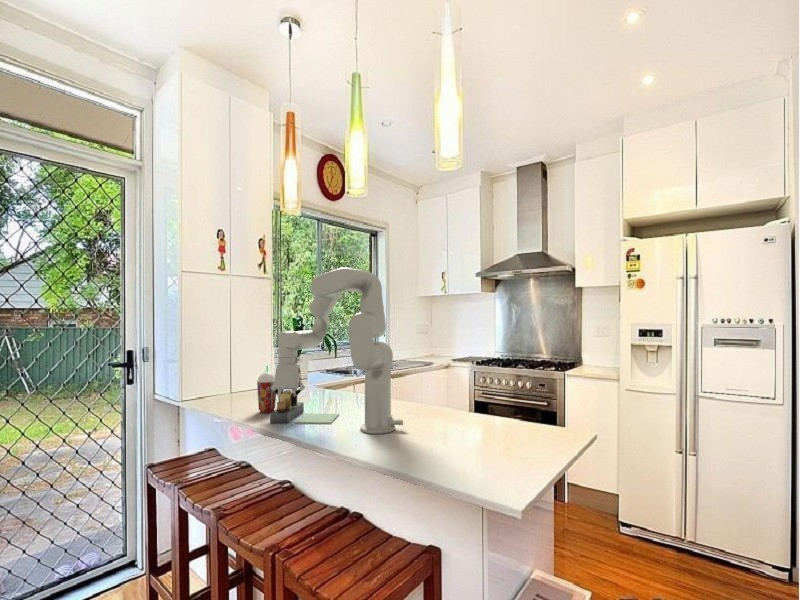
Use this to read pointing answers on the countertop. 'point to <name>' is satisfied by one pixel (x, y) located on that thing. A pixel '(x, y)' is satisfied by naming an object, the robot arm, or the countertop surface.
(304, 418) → the rubber mat
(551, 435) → the countertop surface
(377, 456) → the countertop surface
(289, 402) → the lever cap
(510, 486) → the countertop surface
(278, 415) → the hand plane
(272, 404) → the smoothie
